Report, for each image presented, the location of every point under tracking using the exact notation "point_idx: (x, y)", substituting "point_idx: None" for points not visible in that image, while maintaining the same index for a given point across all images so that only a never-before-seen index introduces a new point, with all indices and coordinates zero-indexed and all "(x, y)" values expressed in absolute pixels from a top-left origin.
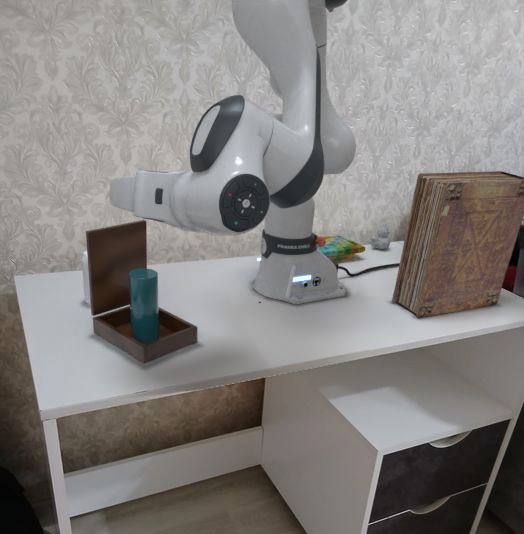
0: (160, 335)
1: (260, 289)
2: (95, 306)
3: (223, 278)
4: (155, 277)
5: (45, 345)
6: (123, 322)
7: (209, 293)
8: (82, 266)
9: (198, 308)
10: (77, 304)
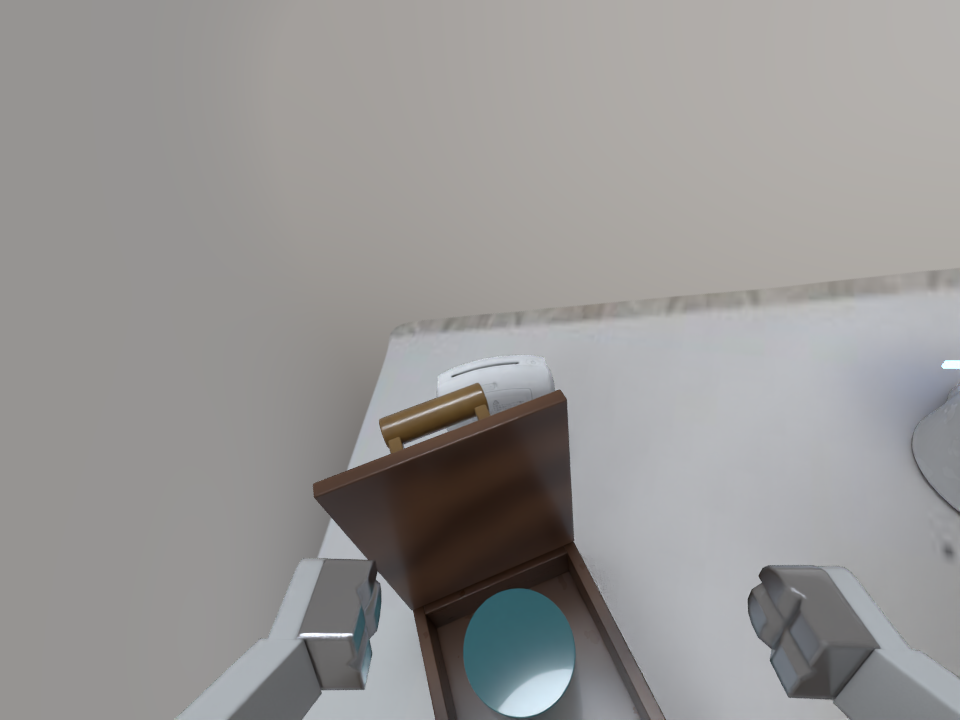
0: (587, 711)
1: (950, 488)
2: (412, 598)
3: (808, 390)
4: (558, 701)
5: None
6: None
7: (764, 461)
8: None
9: (727, 541)
10: None
